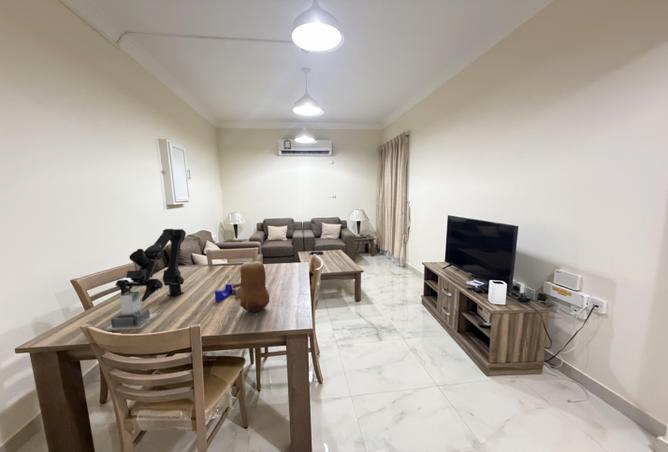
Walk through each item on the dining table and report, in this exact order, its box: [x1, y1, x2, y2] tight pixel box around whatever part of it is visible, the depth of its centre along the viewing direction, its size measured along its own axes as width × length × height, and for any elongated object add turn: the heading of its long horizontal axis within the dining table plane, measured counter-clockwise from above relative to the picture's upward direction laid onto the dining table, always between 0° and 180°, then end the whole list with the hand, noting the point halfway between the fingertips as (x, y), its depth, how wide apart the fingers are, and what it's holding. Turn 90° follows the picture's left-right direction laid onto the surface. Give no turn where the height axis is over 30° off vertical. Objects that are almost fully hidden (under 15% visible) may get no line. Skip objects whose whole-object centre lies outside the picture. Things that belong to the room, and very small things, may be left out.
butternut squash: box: [239, 260, 270, 313], centre depth 129 cm, size 14×13×25 cm
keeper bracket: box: [105, 309, 159, 331], centre depth 120 cm, size 13×14×4 cm
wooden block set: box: [231, 280, 242, 299], centre depth 158 cm, size 17×6×18 cm
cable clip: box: [214, 283, 233, 303], centre depth 149 cm, size 12×4×6 cm, turn 171°
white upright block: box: [119, 291, 142, 318], centre depth 119 cm, size 5×5×13 cm
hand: (132, 301), depth 120 cm, fingers open, 9 cm apart
